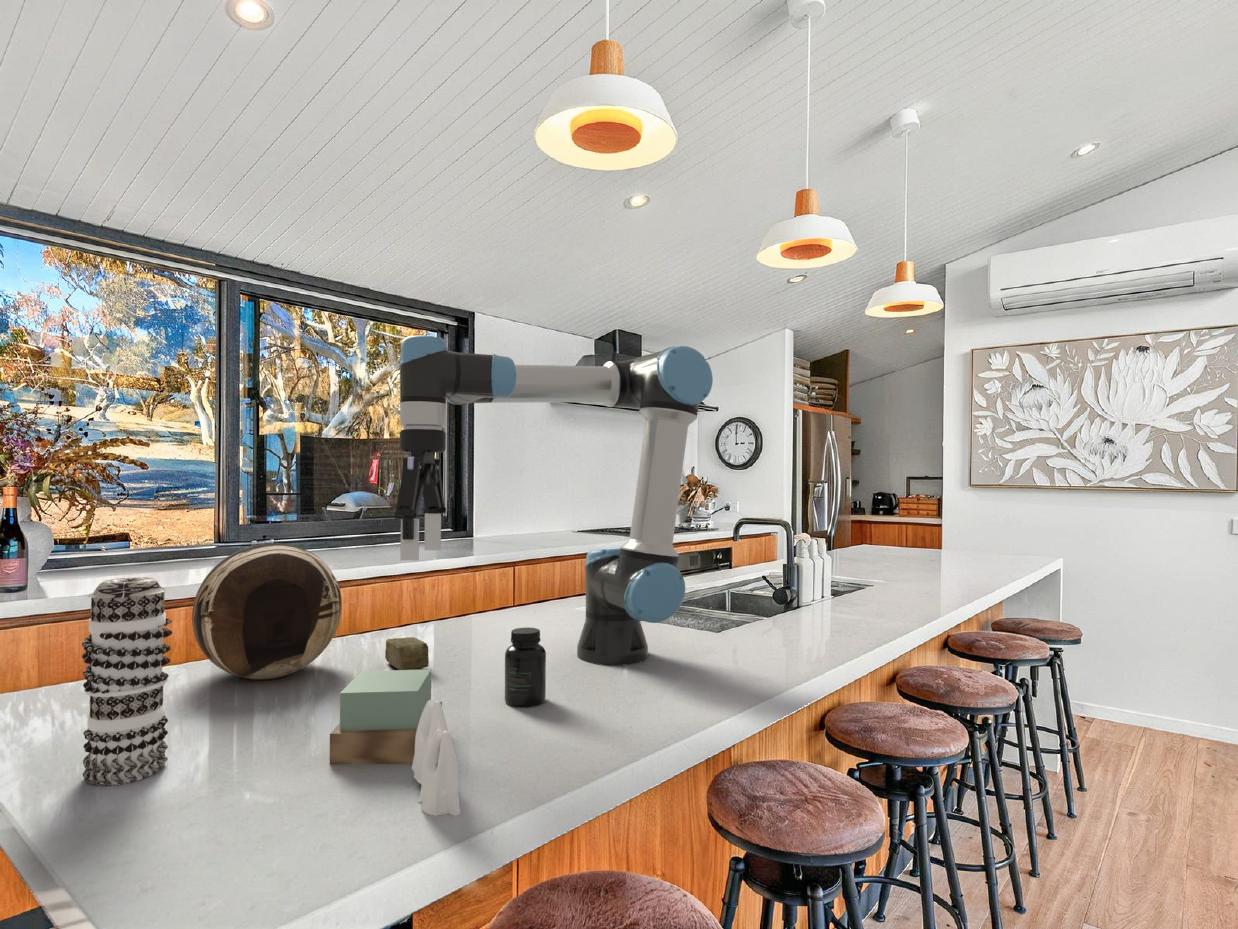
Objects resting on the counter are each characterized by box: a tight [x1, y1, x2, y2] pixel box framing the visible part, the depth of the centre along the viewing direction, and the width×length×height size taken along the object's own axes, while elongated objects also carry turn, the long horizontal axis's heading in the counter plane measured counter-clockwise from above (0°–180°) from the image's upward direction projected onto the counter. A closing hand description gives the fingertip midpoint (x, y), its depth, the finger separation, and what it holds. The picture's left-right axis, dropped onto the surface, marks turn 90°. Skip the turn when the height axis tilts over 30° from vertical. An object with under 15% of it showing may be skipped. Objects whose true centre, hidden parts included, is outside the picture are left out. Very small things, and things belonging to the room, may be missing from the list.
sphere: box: [191, 542, 343, 681], centre depth 130 cm, size 25×25×25 cm
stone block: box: [384, 636, 430, 670], centre depth 135 cm, size 6×12×5 cm, turn 33°
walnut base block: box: [329, 701, 443, 765], centre depth 96 cm, size 12×12×5 cm
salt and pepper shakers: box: [411, 699, 461, 817], centre depth 82 cm, size 12×4×11 cm, turn 23°
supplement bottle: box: [504, 627, 547, 709], centre depth 117 cm, size 7×7×12 cm
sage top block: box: [339, 668, 432, 731], centre depth 96 cm, size 10×10×5 cm
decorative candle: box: [81, 576, 173, 787], centre depth 87 cm, size 9×9×25 cm
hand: (421, 555), depth 116 cm, fingers open, 13 cm apart
